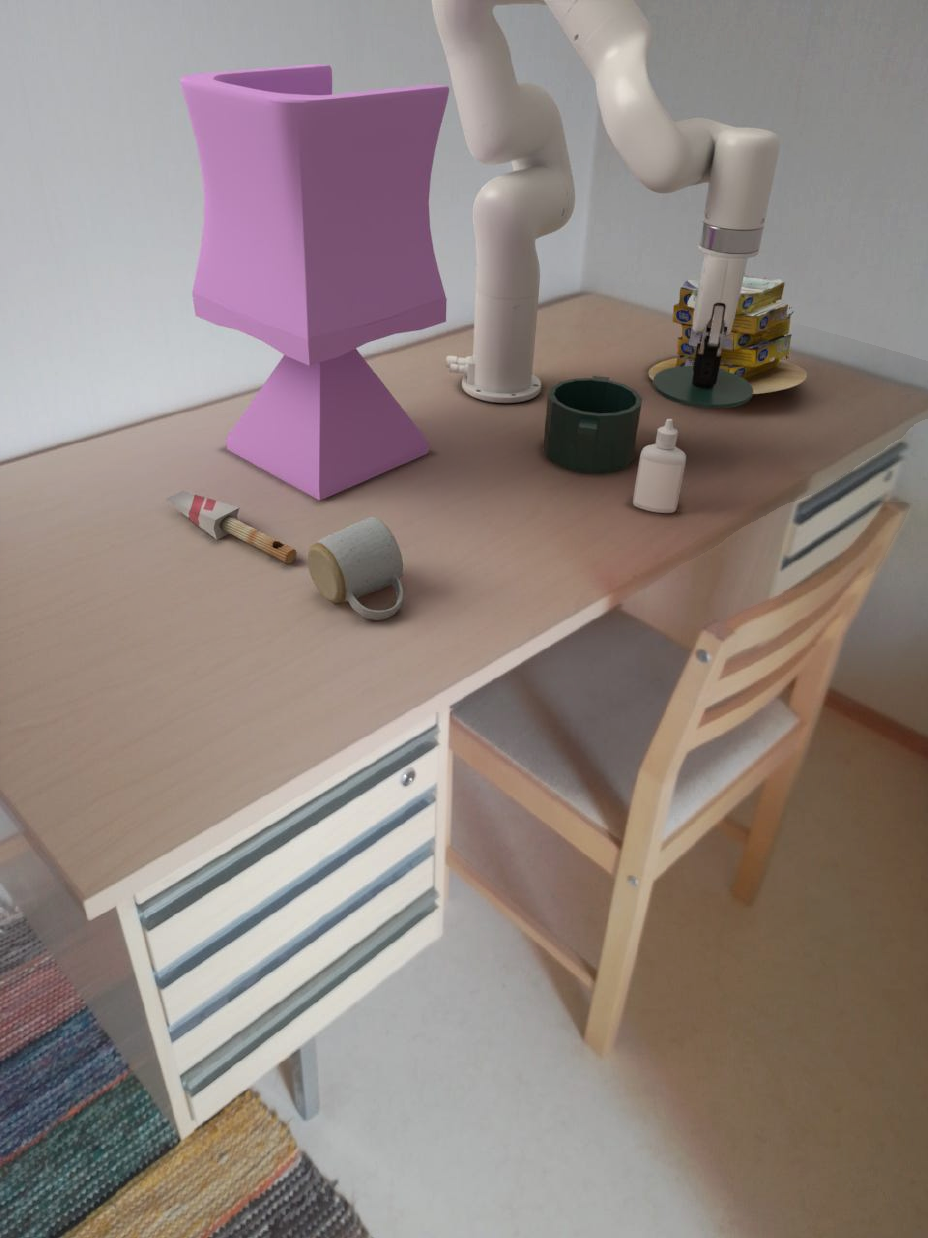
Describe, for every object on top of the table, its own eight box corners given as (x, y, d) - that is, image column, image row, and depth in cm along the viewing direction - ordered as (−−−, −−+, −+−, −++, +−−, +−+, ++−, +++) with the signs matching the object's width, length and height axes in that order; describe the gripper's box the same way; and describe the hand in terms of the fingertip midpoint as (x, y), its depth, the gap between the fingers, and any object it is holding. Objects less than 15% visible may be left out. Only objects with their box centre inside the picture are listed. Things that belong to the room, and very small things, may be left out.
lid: (649, 405, 128) (656, 361, 124) (654, 369, 139) (661, 327, 135) (753, 417, 126) (763, 372, 122) (750, 379, 136) (759, 337, 133)
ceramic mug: (304, 587, 105) (300, 527, 100) (365, 562, 109) (364, 504, 105) (360, 635, 99) (358, 573, 94) (422, 607, 103) (424, 547, 98)
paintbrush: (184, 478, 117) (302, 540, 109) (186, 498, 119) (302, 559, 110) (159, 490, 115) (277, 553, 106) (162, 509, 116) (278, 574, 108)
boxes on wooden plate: (618, 371, 160) (632, 269, 150) (724, 346, 171) (744, 250, 161) (723, 427, 143) (747, 316, 133) (833, 396, 154) (862, 292, 144)
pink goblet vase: (442, 453, 133) (452, 85, 106) (318, 508, 119) (293, 103, 92) (336, 404, 144) (321, 62, 118) (212, 449, 131) (163, 75, 104)
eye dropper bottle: (661, 520, 120) (677, 432, 113) (626, 503, 123) (640, 416, 116) (682, 509, 122) (699, 422, 115) (647, 493, 125) (661, 407, 118)
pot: (534, 475, 128) (539, 416, 123) (552, 421, 143) (558, 366, 138) (628, 488, 126) (637, 429, 121) (637, 431, 141) (645, 376, 136)
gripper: (700, 220, 127) (678, 354, 138) (699, 252, 114) (674, 397, 125) (758, 225, 126) (731, 359, 137) (763, 258, 113) (732, 404, 124)
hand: (704, 376), depth 131 cm, fingers closed on lid, 3 cm apart
